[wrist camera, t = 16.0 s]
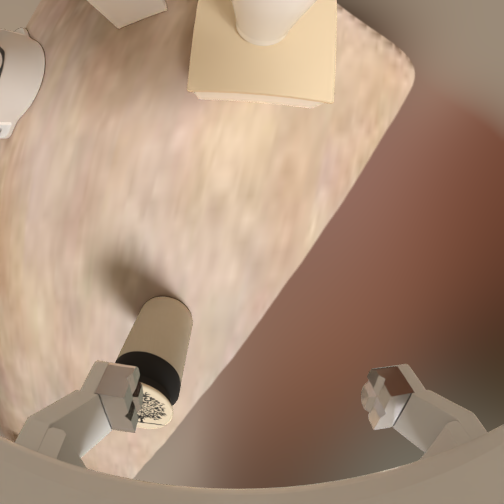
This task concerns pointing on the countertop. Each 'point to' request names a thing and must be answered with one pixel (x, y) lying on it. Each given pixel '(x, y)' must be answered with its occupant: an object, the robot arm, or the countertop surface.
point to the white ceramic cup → (268, 19)
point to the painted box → (264, 59)
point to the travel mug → (158, 357)
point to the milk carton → (128, 10)
